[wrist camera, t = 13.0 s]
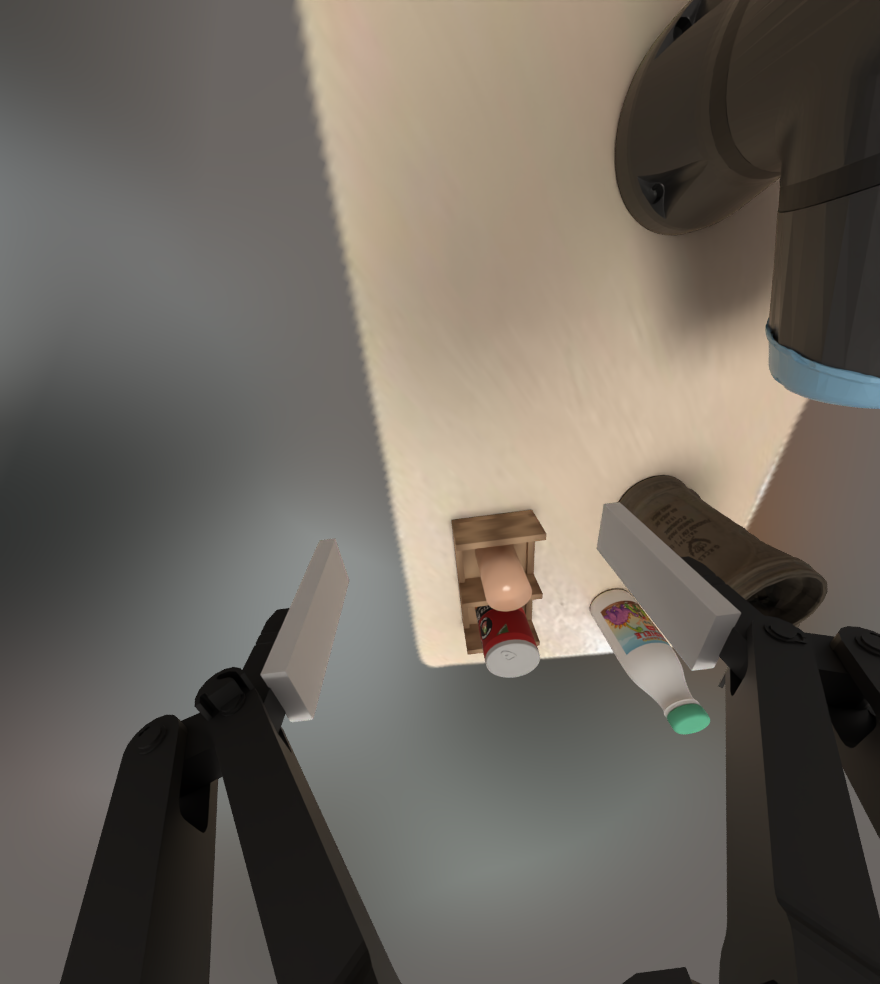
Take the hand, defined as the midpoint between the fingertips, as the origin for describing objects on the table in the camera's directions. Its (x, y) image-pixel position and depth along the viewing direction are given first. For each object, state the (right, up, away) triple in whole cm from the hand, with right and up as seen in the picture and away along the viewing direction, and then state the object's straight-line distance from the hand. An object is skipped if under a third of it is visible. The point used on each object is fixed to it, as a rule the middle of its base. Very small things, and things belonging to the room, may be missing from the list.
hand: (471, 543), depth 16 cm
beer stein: (+32, 0, +33) cm, 46 cm away
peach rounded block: (+7, -7, +33) cm, 35 cm away
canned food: (+8, -16, +39) cm, 43 cm away
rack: (+7, -11, +37) cm, 39 cm away
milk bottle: (+29, -18, +42) cm, 55 cm away
